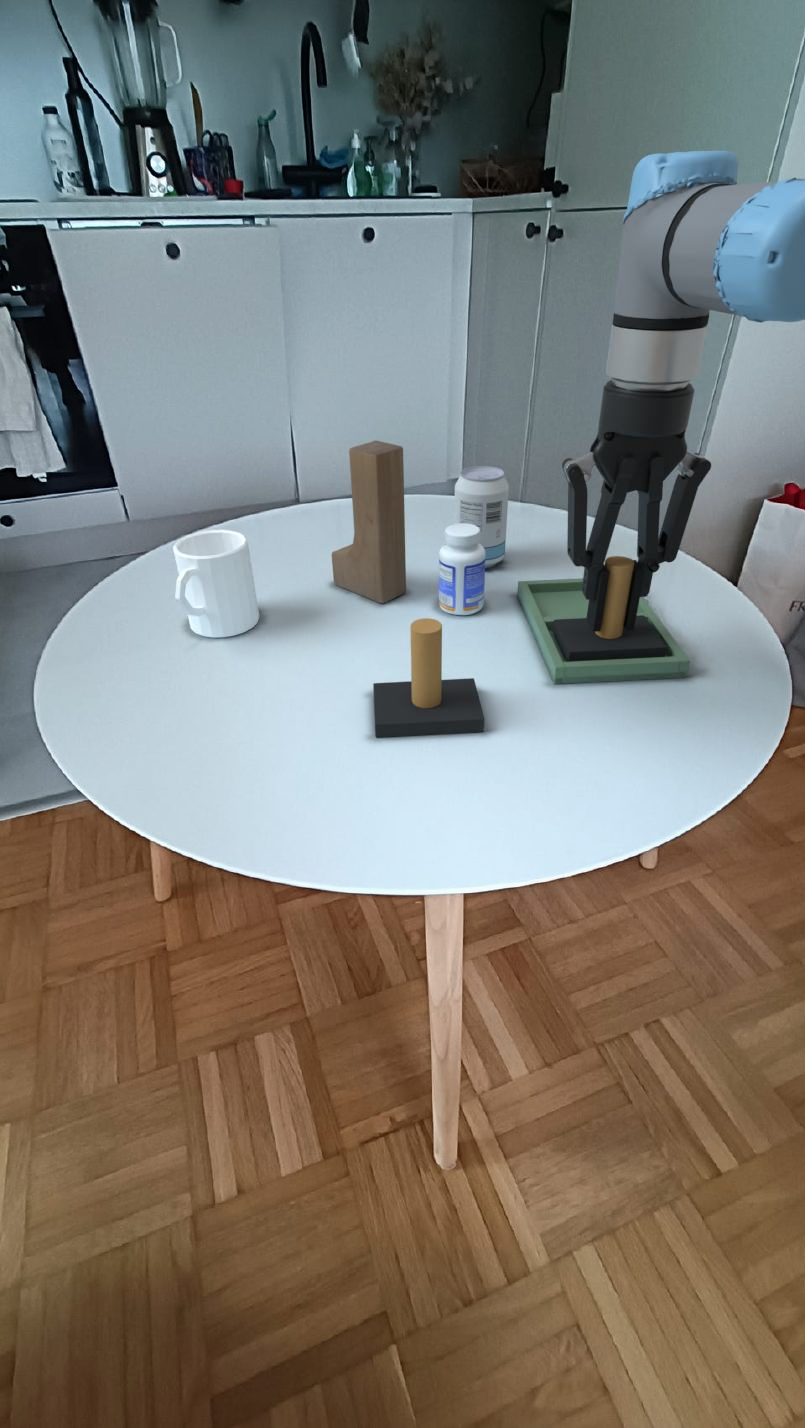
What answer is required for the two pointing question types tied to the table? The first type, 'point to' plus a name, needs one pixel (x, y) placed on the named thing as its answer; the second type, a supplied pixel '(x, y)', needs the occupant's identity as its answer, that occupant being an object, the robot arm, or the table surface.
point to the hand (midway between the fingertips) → (609, 624)
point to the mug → (216, 583)
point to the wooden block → (375, 525)
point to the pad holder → (569, 602)
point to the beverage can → (484, 507)
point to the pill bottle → (461, 570)
